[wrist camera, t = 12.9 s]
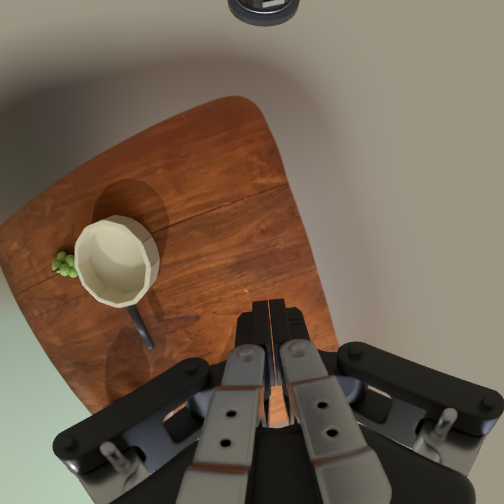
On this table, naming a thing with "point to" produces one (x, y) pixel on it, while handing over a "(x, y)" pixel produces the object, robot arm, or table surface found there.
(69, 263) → the grapes
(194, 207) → the table surface
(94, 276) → the pan
